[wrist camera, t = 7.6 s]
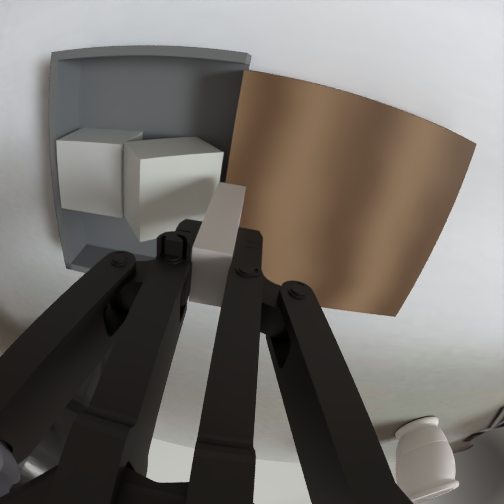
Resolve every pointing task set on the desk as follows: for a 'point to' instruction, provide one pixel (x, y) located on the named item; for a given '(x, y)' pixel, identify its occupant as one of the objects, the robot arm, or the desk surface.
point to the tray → (137, 121)
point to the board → (342, 189)
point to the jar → (424, 460)
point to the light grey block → (93, 169)
